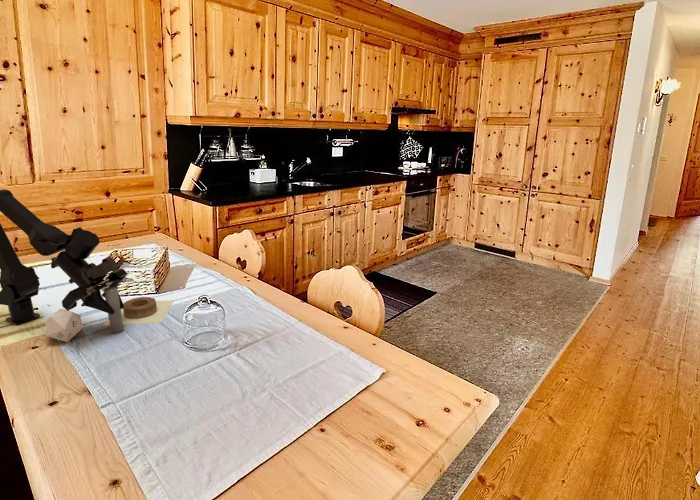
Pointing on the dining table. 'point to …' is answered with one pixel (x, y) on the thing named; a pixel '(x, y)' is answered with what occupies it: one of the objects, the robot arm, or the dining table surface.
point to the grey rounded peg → (115, 318)
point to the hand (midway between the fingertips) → (118, 310)
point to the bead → (139, 307)
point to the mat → (155, 318)
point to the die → (63, 325)
